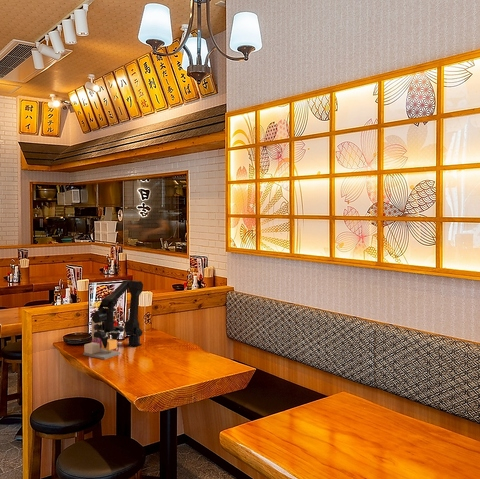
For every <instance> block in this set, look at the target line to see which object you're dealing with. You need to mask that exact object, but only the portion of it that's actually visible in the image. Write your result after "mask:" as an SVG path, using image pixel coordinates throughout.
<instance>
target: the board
mask: <svg viewBox="0 0 480 479" xmlns="http://www.w3.org/2000/svg"><path fill="white" fill-rule="evenodd" d="M83 345H84V346H83V347H84V352H82V355H83V356H86V357H91V358H96V359H100V360H101V359H102V360H107V359H110V358H113V357H116V356H118V355H121V351H118V350H117V351H116V350H113V349H112V350H105V349H102V348H101V347H100V344H99V343H94V342H92V341H91V342H89V343H85V344H83Z"/></svg>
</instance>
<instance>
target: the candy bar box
mask: <svg viewBox="0 0 480 479" xmlns="http://www.w3.org/2000/svg"><path fill="white" fill-rule="evenodd" d="M90 322H91V342H94V343H99V344H100V348H102V342H101V339H100V338H96V337H94V335H93V334H94V332H97V330H95V329H94V325H95V324H99V325H101V324H102V322H100V323H94V322H93V320H92V318H91V321H90ZM99 331H101V330H99ZM103 332H104V331H103ZM106 337H108V338H109V334H106Z"/></svg>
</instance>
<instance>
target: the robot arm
mask: <svg viewBox="0 0 480 479" xmlns="http://www.w3.org/2000/svg"><path fill="white" fill-rule="evenodd" d="M143 289H144V283H143V281H140V280H130V279H124V280H123V281H122V282H121V283H120V284H119V285H118V286H117V287H116V289H115V290H114V291H113V292H111V293H110V294H108V295H105V296H104V297H103V298H102V299H101V301H100V303H99V306H98V308H97V310H94V313H93V314H92V316H91V319H92V320H93V322H94V323H100V322H102V324H101V325H99V324H95V325H94V329H95V330H97V332H94V334H93V335H94V337H96V338H100V339H101V341H102V343H103V346H104V348H106V347H107V341H108V339H109V336H108V337H106V334H108V335H109V334H110V336H111V339H115V340H117V341H118V339H119V336H120V334H122V332H125V335H126V336H128V344H127V345H126V346H128V347H132V348H136V347H139V346H141V345H143V344H142V343H141V342H140V341H141V340H140V338H141V336H143V334H144V333H143V331H142V329H141V327H140V322H139V320H138V312H139V302H140V296H141V294H142V292H143ZM127 290H128V292H129V295H130V303H129V312H128V313H129V314H128V319H127V321H125V322H124V327H123V326H122V325H115V324H116V321H115V312H116V311H117V308H115V307H116V305H117V304H118V300H119V299H120V297H122V295H124V293H125V292H126V291H127ZM99 330H101V331H99ZM103 331H104V332H103Z"/></svg>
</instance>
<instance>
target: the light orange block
mask: <svg viewBox="0 0 480 479" xmlns="http://www.w3.org/2000/svg"><path fill="white" fill-rule="evenodd" d="M101 342H102V341H101ZM117 348H118V339H117V340H115V339H112V338H108V341H107V347H106V348H104V346H103V343H102V349H105V350H112V351H113V350H115V349H117Z"/></svg>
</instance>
